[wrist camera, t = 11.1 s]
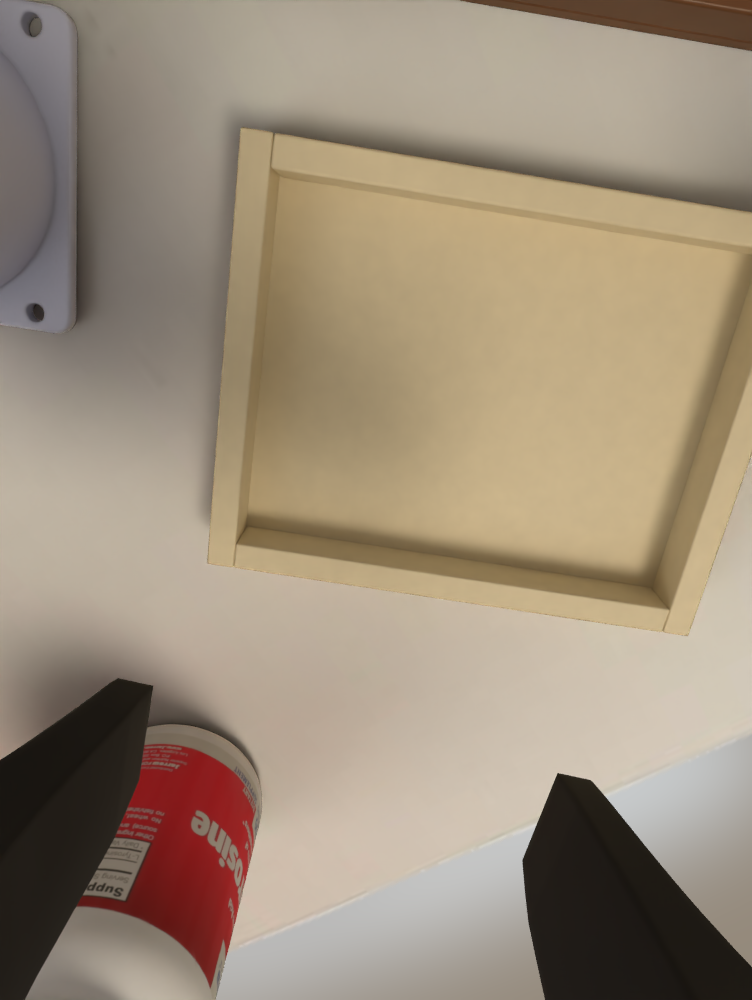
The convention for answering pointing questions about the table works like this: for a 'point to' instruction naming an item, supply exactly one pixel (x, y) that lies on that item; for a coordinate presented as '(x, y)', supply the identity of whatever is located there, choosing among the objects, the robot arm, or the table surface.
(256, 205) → the cream tray
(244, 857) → the pill bottle
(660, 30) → the brown tray
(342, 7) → the table surface
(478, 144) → the table surface
